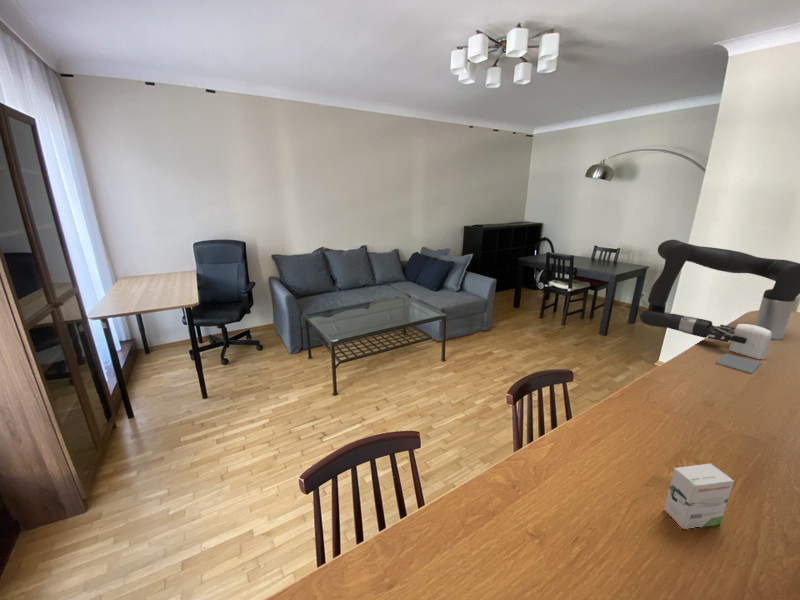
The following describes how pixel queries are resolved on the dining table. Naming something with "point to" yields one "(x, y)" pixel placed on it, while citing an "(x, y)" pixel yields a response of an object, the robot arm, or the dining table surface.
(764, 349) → the photo printer
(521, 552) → the dining table surface
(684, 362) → the dining table surface
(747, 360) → the rubber mat
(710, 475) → the ink box
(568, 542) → the dining table surface
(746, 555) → the dining table surface
